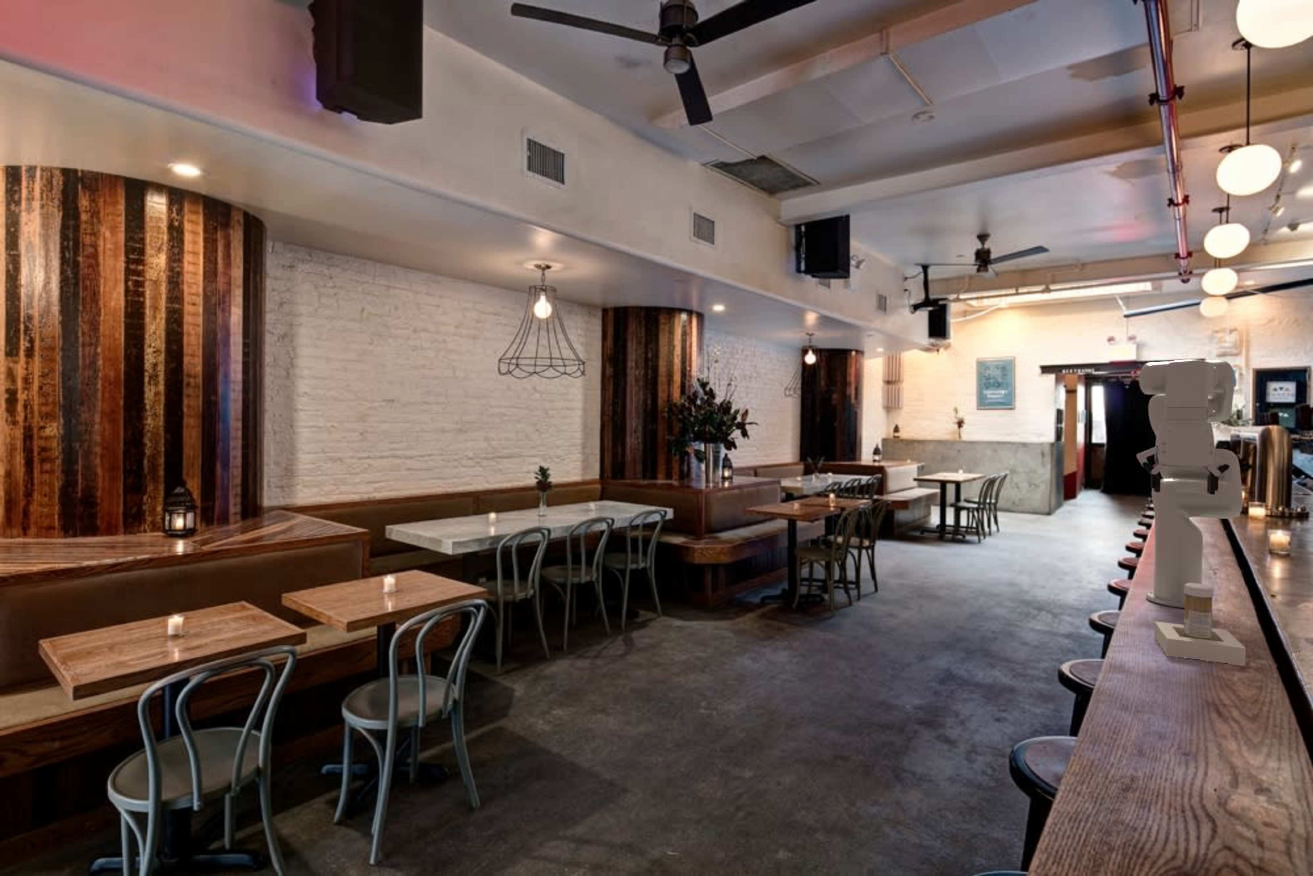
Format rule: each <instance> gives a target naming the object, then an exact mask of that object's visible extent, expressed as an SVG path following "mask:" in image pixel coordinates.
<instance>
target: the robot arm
mask: <svg viewBox="0 0 1313 876" xmlns="http://www.w3.org/2000/svg"><path fill="white" fill-rule="evenodd" d="M1235 375H1236V374H1235V371H1234V367H1233V366H1232V364H1230V363H1229V362H1228V361H1226V360H1220V359H1219V360H1218V359H1217V360H1203V359H1181V360H1180V359H1179V360H1172V361H1158V362H1157V361H1156V362H1155V361H1154V362H1147V363H1144V364H1143V365H1142V367H1141V369H1140V371H1139V377H1138V378H1139V381H1138V383H1139V389H1140V390H1141V392H1142V393H1144V395H1153V396H1152V397H1151V398H1150V399H1149V401H1148V402H1149V403H1148V410H1147V411H1148V417H1149V422H1150V426H1151V428H1152V431H1153V432H1154V434H1155V446H1154V447H1151V448H1150V449H1147V450H1144V451H1142V452H1140V453H1139V452H1138V453H1137V454H1136V458H1137V459H1138V462H1139V463H1140V465H1141V467H1143V468H1144V469H1145V470H1146V471H1148V472H1149V473H1150V488H1151V497H1152V498H1151V499H1152V505H1153V513H1154V529H1155V531H1154V568H1153V569H1154V570H1153V571H1154V572H1153V574H1154V575H1153V576H1154V578H1153V590H1152V591H1148V592H1147V593H1145V596H1146V599H1147V600H1148V601H1151V602H1153V603H1155V604H1159V605H1164V606H1168V607H1174V608H1180V609H1185V593H1184V586H1185V584H1187V583H1198V584H1203V560H1204V559H1203V557H1204V556H1203V554H1204V551H1203V550H1204V538H1203V533H1202V531H1201V530H1200V528H1199V527H1198V526H1197V525H1196V524H1195V523H1194V522H1193V521H1192V520H1191V519H1190V518H1210V519H1222V520H1223V519H1224V520H1225V519H1234V518H1237V517H1238V516H1239V515H1240V514H1241V512H1242V510H1243V503H1244V502H1243V501H1244V499H1243V487H1242V477H1241V467H1240V462H1239V458H1238V456H1237V455H1236V454H1235V453H1234V452H1233V451H1231V450H1229V449H1224V448H1216V446H1215V436H1214V430H1213V424H1212V423H1221V422H1224V421H1226V420H1228V418H1229V417H1230V416H1231V413H1232V409H1233V402H1234V401H1233V400H1234V395H1235V394H1234V393H1235V384H1236V382H1235V381H1236V376H1235ZM1153 455H1154V462H1155V464H1153V466H1152V465H1151V463H1149V462H1148V460H1147V459H1148V458H1147V457H1151V456H1153Z"/></svg>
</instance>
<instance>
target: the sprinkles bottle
mask: <svg viewBox="0 0 1313 876" xmlns="http://www.w3.org/2000/svg"><path fill="white" fill-rule="evenodd" d="M1184 593H1185V608H1184V614H1183V616H1184V617H1183V625H1184V637H1187V638H1195V639H1203V640H1211V637H1212V628H1213V597H1214V594H1215V593H1214V587H1213V586H1211V585H1208V584H1204V583H1202V584H1198V583H1187V584H1185V586H1184Z"/></svg>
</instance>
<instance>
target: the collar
mask: <svg viewBox="0 0 1313 876" xmlns="http://www.w3.org/2000/svg"><path fill="white" fill-rule="evenodd" d="M1153 630H1154V631H1153V632H1154V634H1153V635H1154V636H1153V637H1155V638H1154V639H1156V640H1157V641H1158V642H1157V641H1156V640H1155V641H1156V642H1157V644H1158V643H1159V644H1160V645H1161V647H1162V648H1161V647H1160V648H1161V650H1162V649H1163V650H1164V651H1163V650H1162V651H1163V653H1164V652H1165V653H1166V654H1165V653H1164V654H1165V656H1166V655H1169V656H1168V657H1171V656H1178V657H1187V658H1193V659H1203V660H1209V661H1216V662H1222V663H1221V664H1223V663H1228V664H1227V665H1231V666H1239V667H1246V653H1247V651H1246V647H1245V646H1244V645H1243V644H1242V643H1241V642H1240V641H1239V640H1238V639H1237V638H1236V637H1235V636H1233V635H1232V633H1231V632H1229V631H1228V629H1223V628H1214V627H1212V637H1211V640H1203V639H1195V638H1187V637H1184V624H1179V623H1171V622H1164V621H1163V622H1161V621H1154V629H1153ZM1159 644H1158V645H1159ZM1160 645H1159V646H1160ZM1178 657H1177V658H1178ZM1193 659H1192V660H1193ZM1216 662H1215V663H1216Z"/></svg>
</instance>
